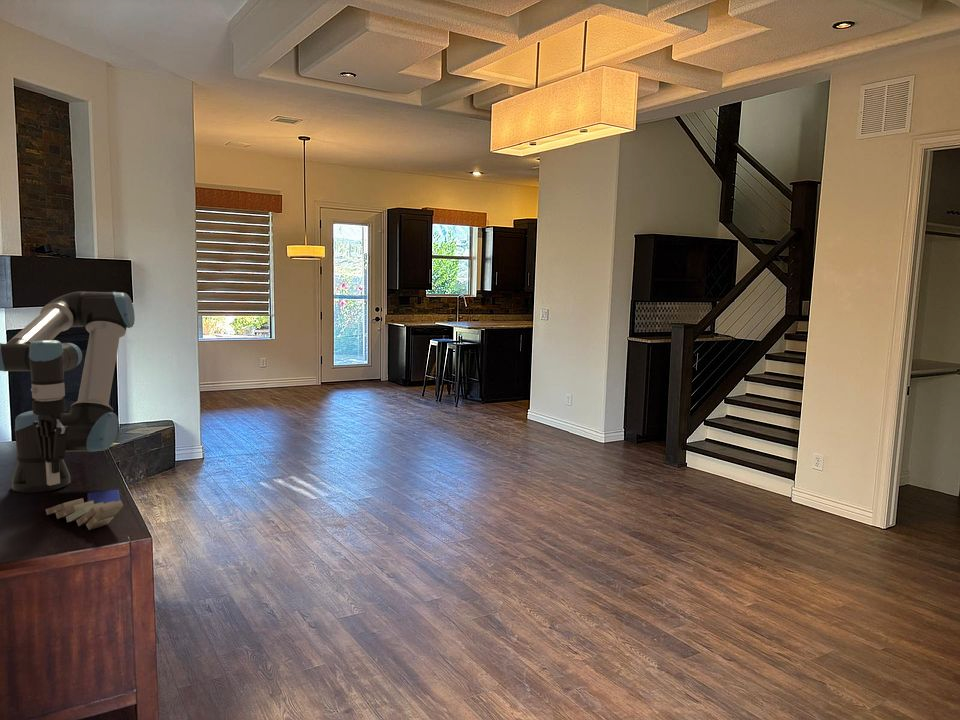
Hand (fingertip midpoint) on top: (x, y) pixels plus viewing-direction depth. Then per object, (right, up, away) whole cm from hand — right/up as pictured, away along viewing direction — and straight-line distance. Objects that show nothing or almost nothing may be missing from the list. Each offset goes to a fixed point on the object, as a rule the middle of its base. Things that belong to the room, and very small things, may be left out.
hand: (53, 483), depth 191 cm
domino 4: (+13, -9, -7) cm, 17 cm away
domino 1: (0, -7, +1) cm, 7 cm away
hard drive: (+8, -8, +11) cm, 16 cm away
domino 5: (+17, -9, -9) cm, 21 cm away
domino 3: (+9, -8, -4) cm, 13 cm away
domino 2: (+4, -8, -2) cm, 9 cm away
